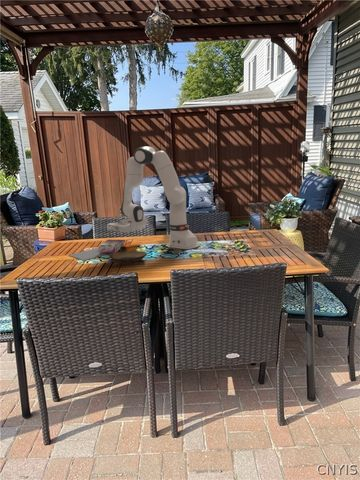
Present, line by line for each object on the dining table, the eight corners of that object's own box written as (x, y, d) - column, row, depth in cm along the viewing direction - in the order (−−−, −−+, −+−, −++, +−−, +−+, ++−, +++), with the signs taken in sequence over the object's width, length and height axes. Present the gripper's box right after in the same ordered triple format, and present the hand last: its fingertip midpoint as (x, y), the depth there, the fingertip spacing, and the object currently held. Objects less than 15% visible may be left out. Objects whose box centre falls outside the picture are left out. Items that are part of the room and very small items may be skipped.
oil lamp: (103, 269, 200) (102, 256, 199) (116, 255, 230) (114, 243, 228) (143, 268, 199) (142, 254, 197) (151, 253, 228) (150, 241, 226)
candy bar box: (109, 246, 246) (98, 252, 231) (108, 239, 245) (97, 245, 230) (124, 246, 243) (114, 253, 228) (124, 239, 242) (114, 245, 227)
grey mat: (117, 252, 235) (117, 250, 235) (83, 260, 220) (83, 258, 219) (101, 247, 250) (101, 245, 250) (68, 255, 234) (68, 253, 234)
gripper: (117, 219, 256) (99, 222, 247) (134, 222, 241) (116, 226, 232) (117, 228, 258) (100, 232, 248) (134, 231, 243) (117, 235, 234)
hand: (108, 229), depth 240 cm, fingers closed
